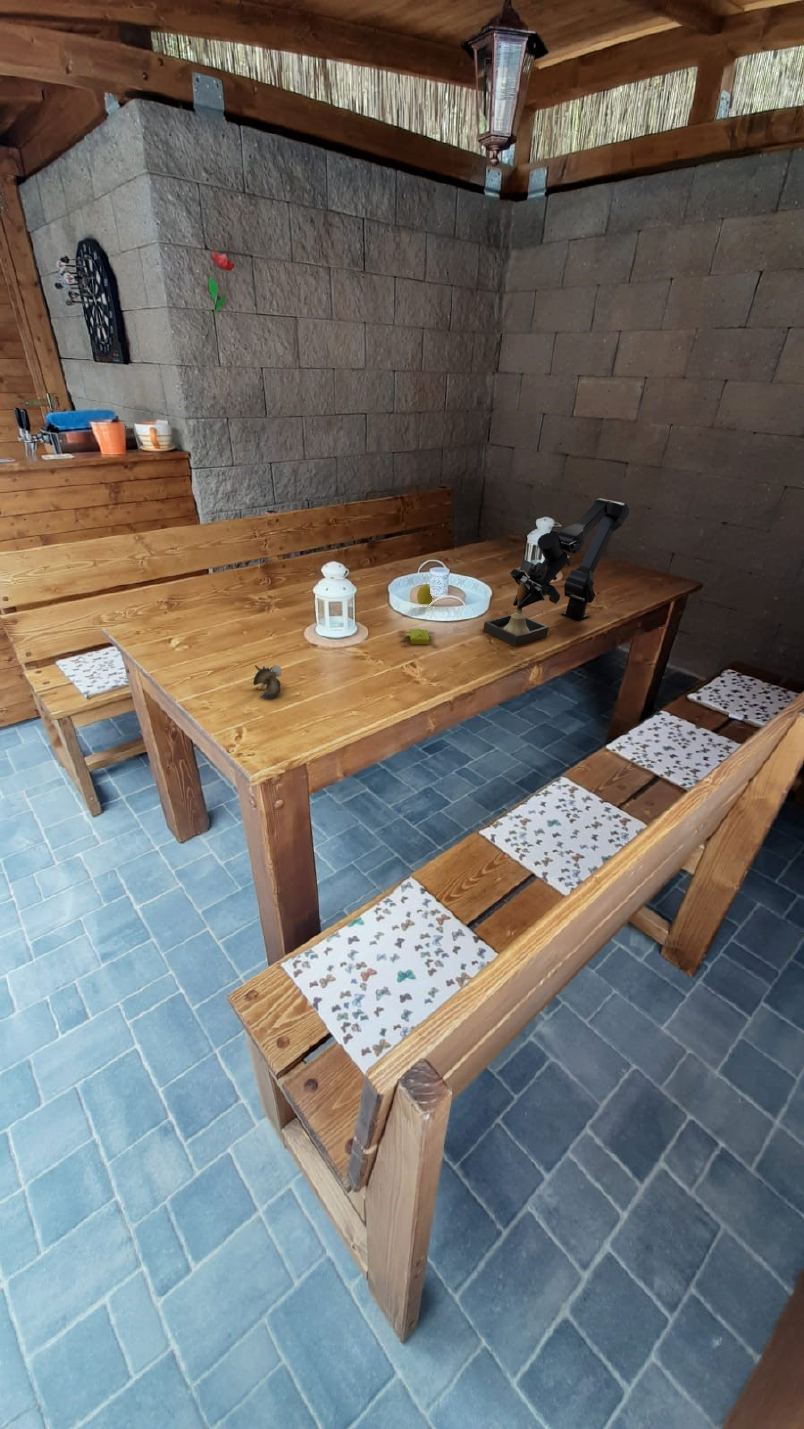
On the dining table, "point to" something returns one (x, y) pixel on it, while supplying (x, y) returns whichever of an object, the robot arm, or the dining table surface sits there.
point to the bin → (497, 630)
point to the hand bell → (518, 615)
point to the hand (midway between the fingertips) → (516, 606)
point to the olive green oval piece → (424, 595)
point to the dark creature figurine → (268, 680)
